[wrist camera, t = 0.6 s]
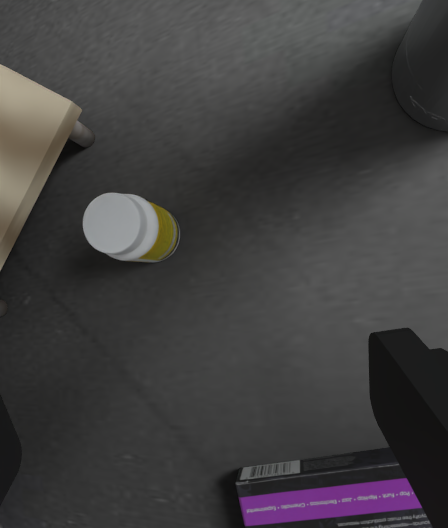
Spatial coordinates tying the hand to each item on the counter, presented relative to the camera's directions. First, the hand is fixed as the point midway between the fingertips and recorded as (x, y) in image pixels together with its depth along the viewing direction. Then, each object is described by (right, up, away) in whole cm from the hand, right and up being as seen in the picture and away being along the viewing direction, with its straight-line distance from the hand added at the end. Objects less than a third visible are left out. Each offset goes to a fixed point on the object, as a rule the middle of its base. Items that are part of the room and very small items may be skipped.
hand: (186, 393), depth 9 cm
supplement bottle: (-5, +5, +26) cm, 27 cm away
